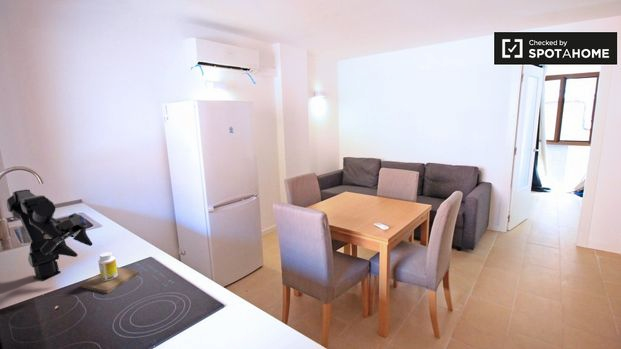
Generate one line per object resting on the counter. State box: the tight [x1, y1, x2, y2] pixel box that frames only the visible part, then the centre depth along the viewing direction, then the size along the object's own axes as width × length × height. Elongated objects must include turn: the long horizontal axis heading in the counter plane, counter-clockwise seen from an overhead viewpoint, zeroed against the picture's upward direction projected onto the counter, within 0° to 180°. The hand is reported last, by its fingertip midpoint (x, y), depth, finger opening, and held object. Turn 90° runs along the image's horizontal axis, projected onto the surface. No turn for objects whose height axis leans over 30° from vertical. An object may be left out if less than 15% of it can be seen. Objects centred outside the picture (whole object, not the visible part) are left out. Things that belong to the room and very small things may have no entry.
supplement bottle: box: [98, 251, 118, 281], centre depth 120 cm, size 6×6×10 cm
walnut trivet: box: [80, 266, 140, 294], centre depth 121 cm, size 14×14×1 cm
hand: (84, 250), depth 118 cm, fingers open, 9 cm apart
